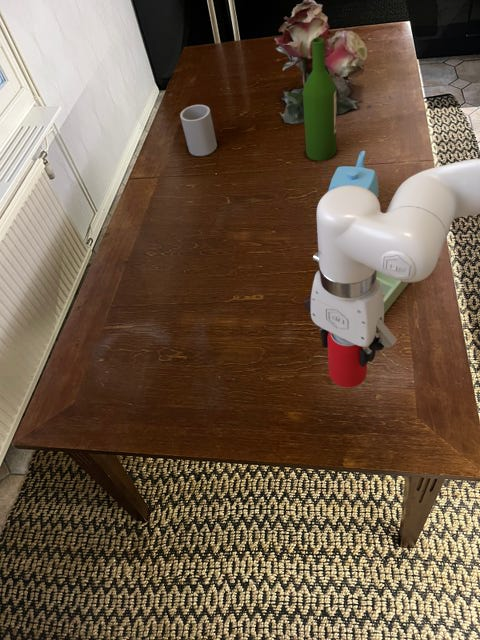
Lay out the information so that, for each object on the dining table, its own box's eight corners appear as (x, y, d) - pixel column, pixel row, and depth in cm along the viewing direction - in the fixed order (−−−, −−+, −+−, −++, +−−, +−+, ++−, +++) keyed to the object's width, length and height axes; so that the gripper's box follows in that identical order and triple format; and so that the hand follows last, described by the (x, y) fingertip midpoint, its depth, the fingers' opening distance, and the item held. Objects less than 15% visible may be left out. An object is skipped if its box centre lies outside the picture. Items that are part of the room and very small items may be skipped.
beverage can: (366, 360, 91) (369, 316, 82) (366, 391, 87) (368, 348, 78) (330, 358, 92) (328, 315, 83) (327, 388, 89) (325, 346, 79)
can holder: (413, 276, 122) (416, 262, 119) (374, 326, 115) (375, 313, 111) (378, 262, 127) (379, 248, 123) (338, 309, 119) (338, 295, 116)
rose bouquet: (373, 107, 169) (378, 5, 146) (285, 128, 169) (276, 30, 146) (348, 71, 185) (349, -25, 162) (267, 90, 185) (257, -3, 162)
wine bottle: (339, 157, 155) (340, 43, 130) (309, 163, 155) (304, 51, 130) (332, 141, 161) (331, 29, 136) (303, 147, 161) (296, 36, 136)
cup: (186, 143, 171) (178, 109, 162) (213, 136, 172) (206, 101, 162) (191, 158, 165) (182, 124, 156) (219, 151, 166) (212, 116, 157)
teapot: (384, 186, 144) (387, 149, 135) (368, 230, 134) (370, 193, 125) (339, 181, 148) (339, 145, 139) (321, 223, 138) (320, 187, 129)
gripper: (279, 267, 73) (290, 343, 87) (392, 317, 65) (384, 393, 79) (309, 235, 77) (315, 313, 90) (421, 279, 68) (408, 358, 82)
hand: (347, 350), depth 84 cm, fingers closed on beverage can, 6 cm apart
